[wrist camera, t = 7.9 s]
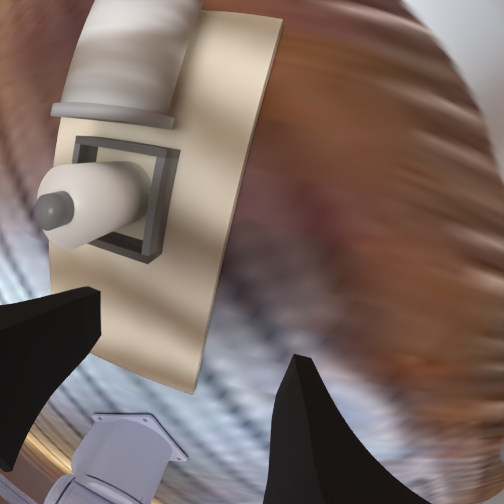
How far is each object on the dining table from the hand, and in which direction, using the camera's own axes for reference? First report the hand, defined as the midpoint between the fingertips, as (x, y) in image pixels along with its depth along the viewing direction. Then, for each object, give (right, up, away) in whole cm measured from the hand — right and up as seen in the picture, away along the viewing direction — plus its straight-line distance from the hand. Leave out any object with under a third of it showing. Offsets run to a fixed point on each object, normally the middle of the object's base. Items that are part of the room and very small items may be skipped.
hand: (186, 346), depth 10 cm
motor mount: (-6, +5, +9) cm, 12 cm away
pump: (-6, +7, +7) cm, 12 cm away
